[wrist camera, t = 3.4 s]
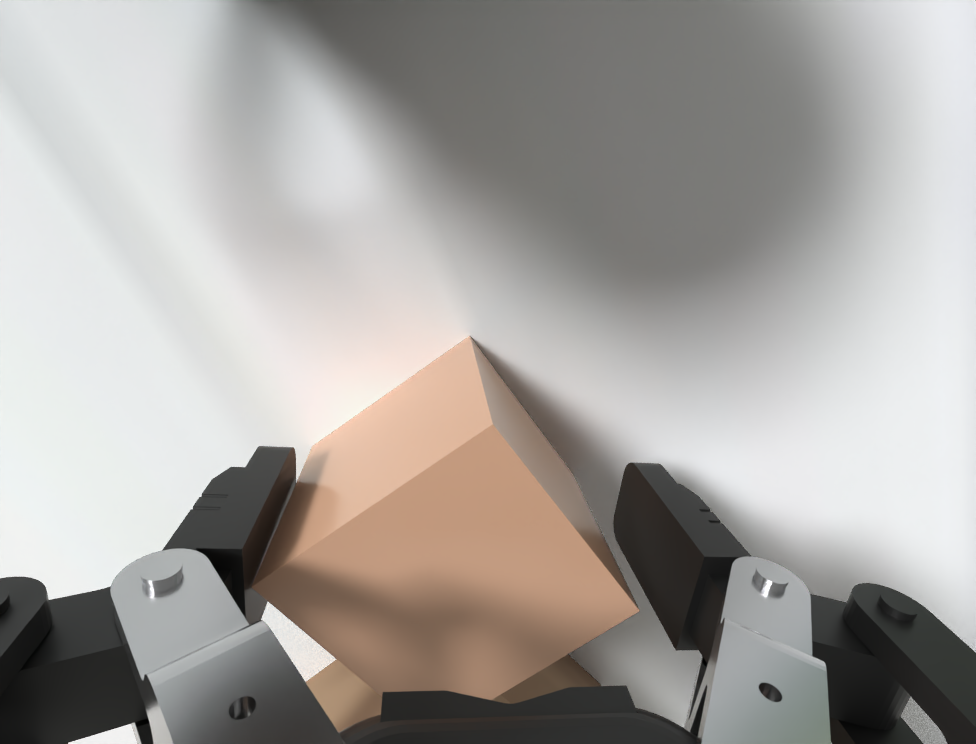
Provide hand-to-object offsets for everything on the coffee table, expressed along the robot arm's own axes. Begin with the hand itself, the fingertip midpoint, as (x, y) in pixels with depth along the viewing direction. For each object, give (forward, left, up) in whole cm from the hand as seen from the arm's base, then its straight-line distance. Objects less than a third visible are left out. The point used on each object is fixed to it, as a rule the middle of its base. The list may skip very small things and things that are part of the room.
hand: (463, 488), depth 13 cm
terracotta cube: (0, 0, -2) cm, 2 cm away
